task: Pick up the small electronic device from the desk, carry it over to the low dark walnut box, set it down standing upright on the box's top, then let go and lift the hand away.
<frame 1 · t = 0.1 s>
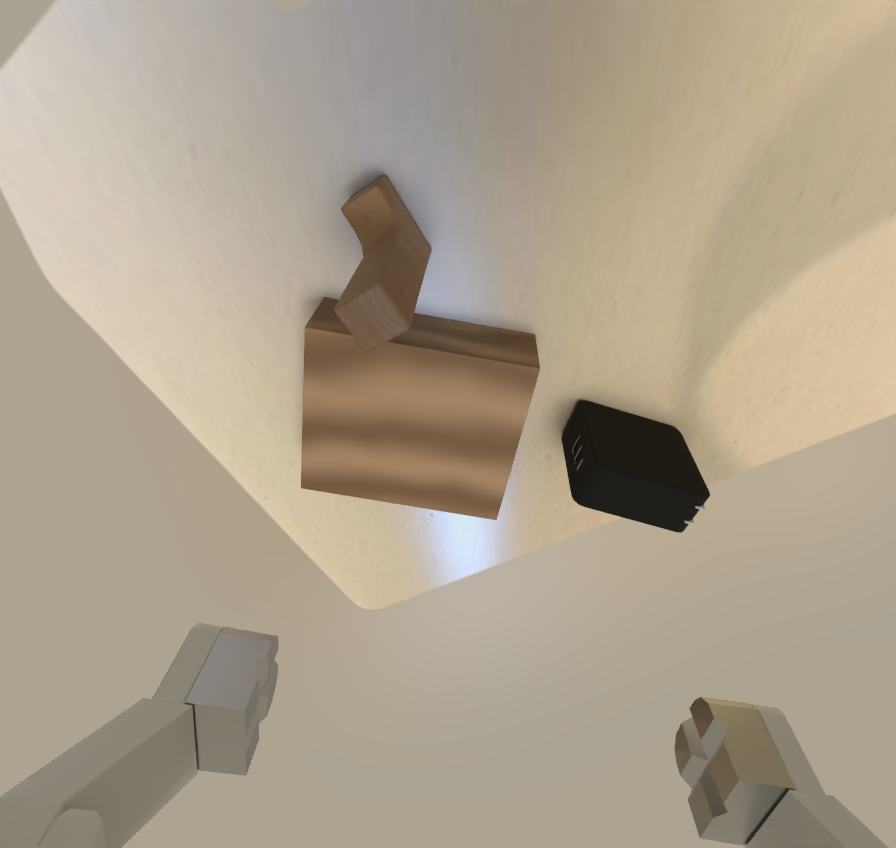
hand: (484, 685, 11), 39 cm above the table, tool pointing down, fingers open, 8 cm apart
electronic device: (618, 429, 54), on the table
wooden block: (392, 223, 45), on the table
walnut box: (417, 396, 53), on the table
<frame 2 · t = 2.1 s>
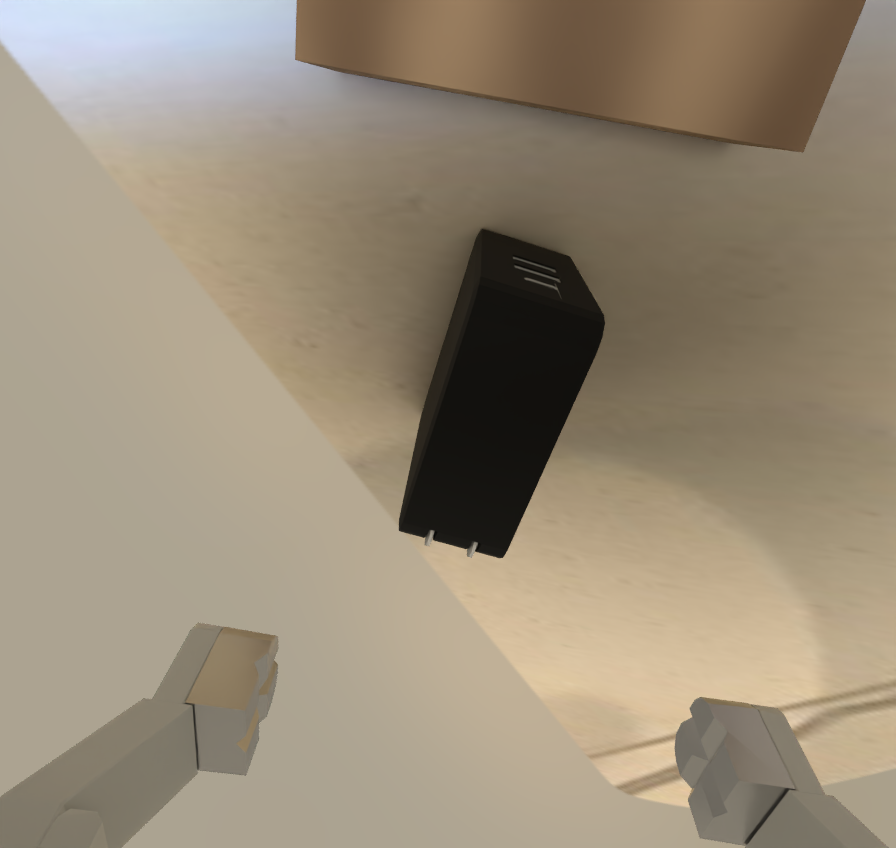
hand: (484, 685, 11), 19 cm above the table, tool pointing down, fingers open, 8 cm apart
electronic device: (489, 339, 28), on the table
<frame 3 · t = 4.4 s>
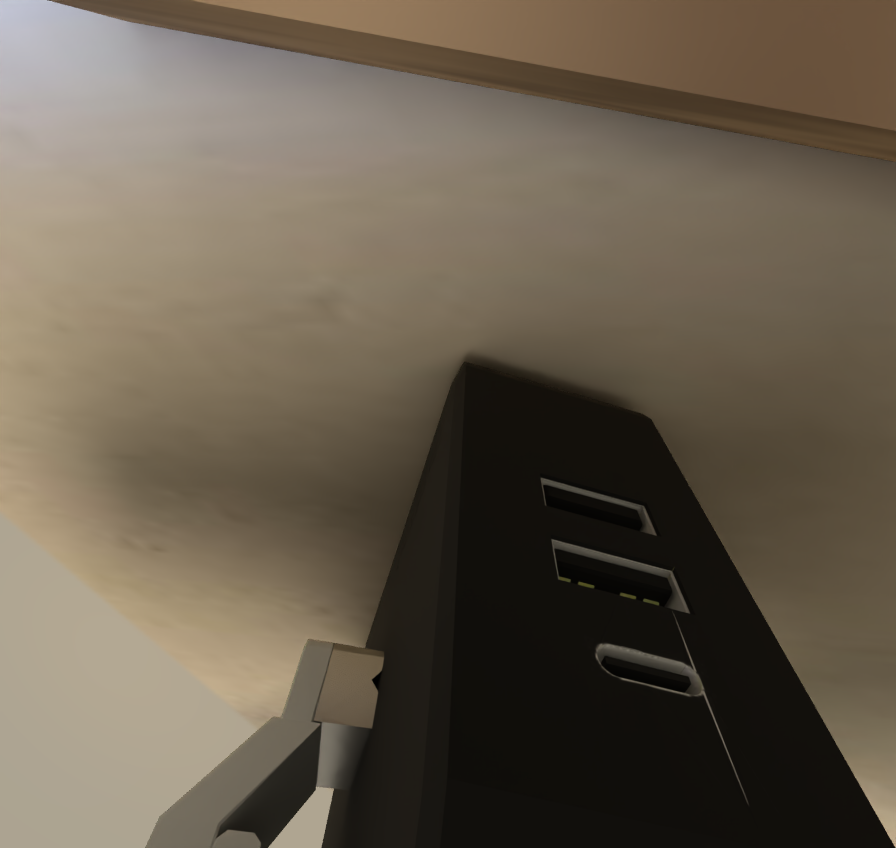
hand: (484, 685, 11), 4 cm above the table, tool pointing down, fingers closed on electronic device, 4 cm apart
electronic device: (482, 540, 15), on the table, touching gripper
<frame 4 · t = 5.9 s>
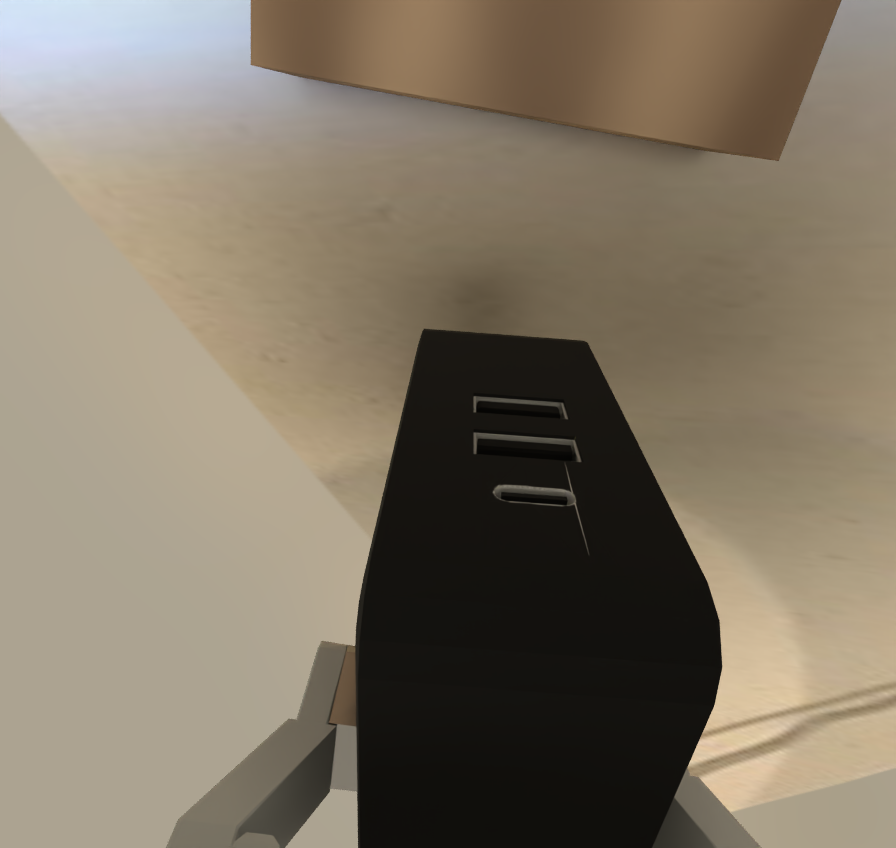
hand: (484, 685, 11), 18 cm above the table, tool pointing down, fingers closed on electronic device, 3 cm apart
electronic device: (484, 481, 17), point 11 cm above the table, touching gripper
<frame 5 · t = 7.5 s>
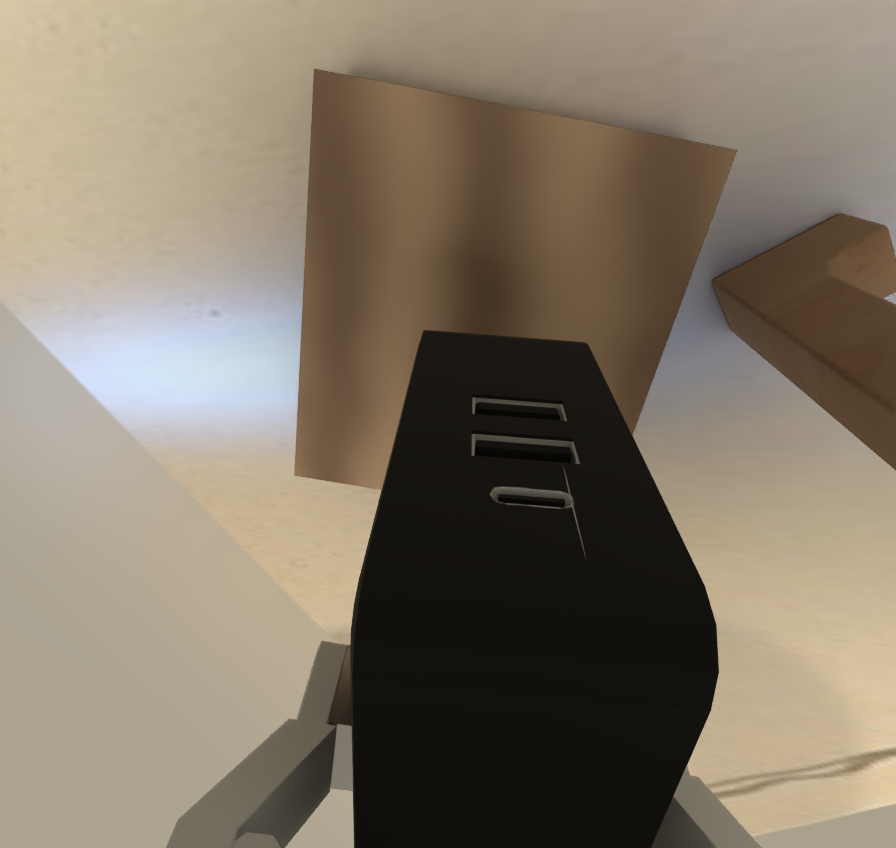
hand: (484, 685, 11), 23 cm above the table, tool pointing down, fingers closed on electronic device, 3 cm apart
electronic device: (485, 483, 17), point 16 cm above the table, touching gripper
wooden block: (781, 273, 30), on the table
walnut box: (481, 299, 31), on the table
when the fingers open (13 cm above the table, at t = 9.1 s): electronic device stays where it is, resting on walnut box.
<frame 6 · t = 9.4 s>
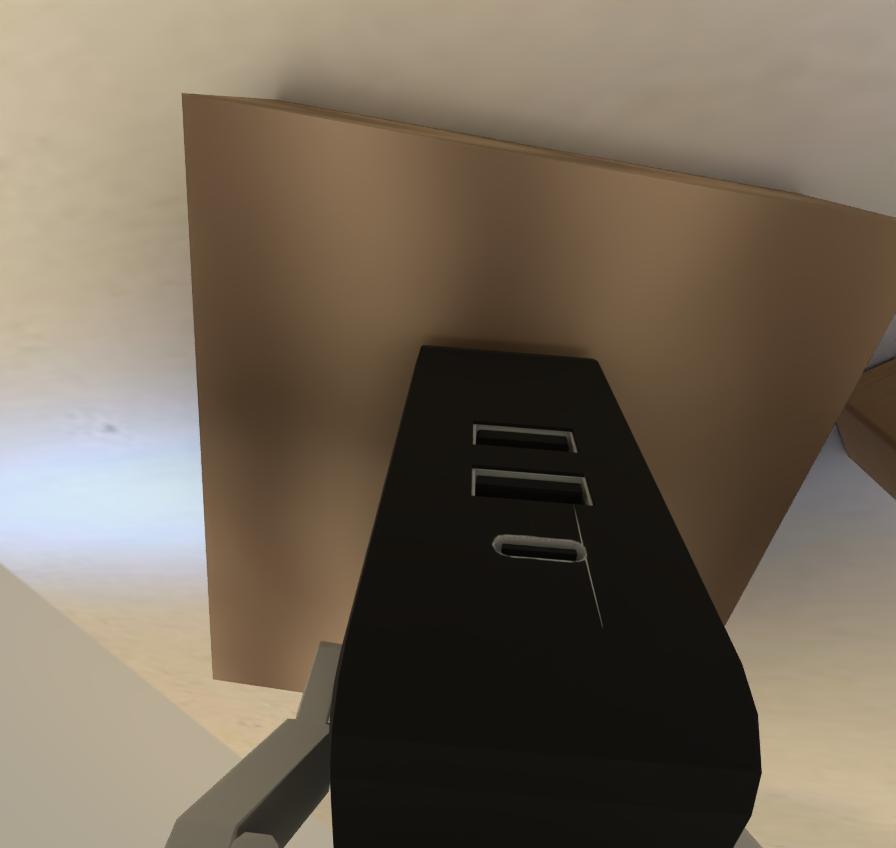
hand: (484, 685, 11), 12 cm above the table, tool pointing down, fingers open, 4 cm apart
electronic device: (487, 504, 16), point 6 cm above the table, touching walnut box
walnut box: (485, 412, 21), on the table
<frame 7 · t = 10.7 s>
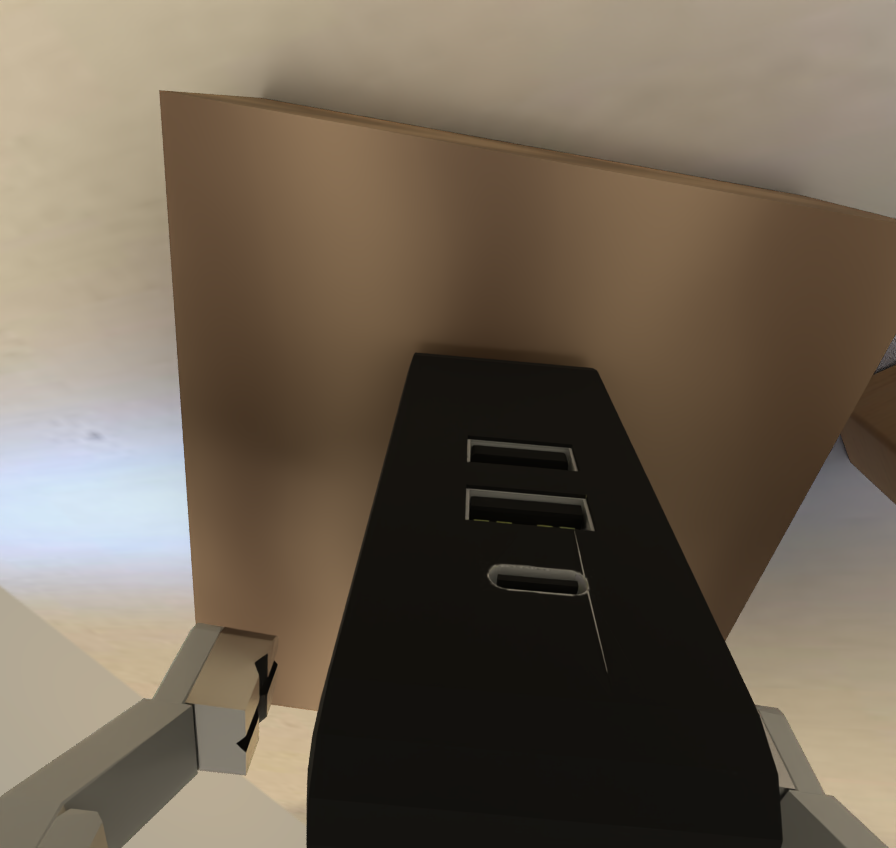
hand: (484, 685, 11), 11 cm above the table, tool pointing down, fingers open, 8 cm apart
electronic device: (481, 516, 16), point 6 cm above the table, touching walnut box
walnut box: (480, 419, 21), on the table
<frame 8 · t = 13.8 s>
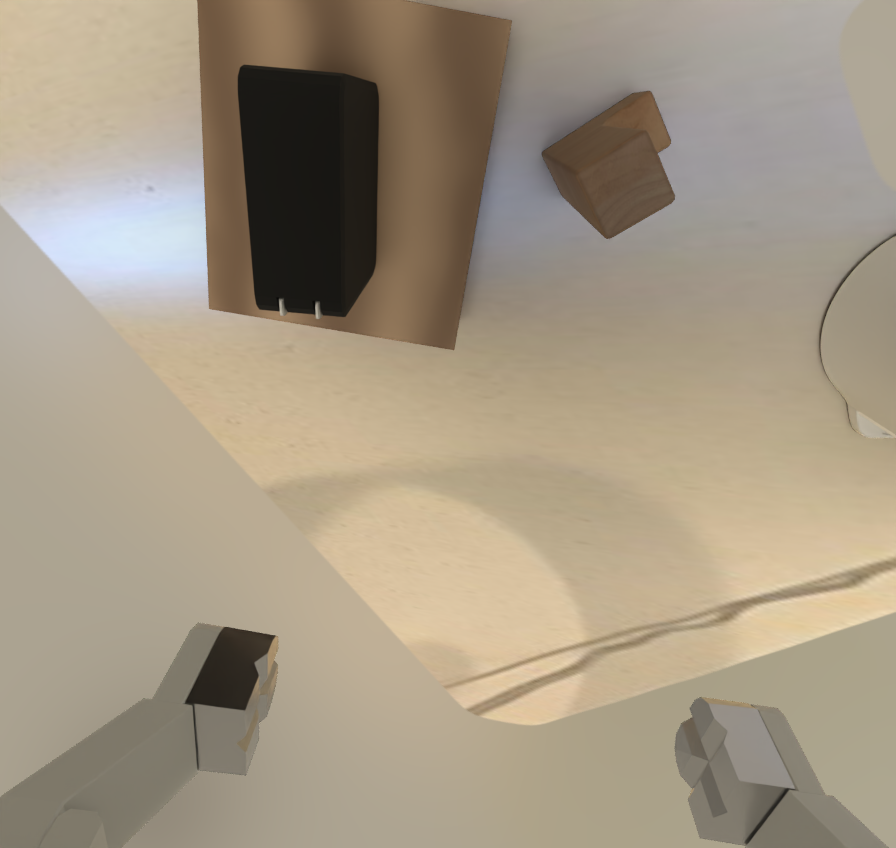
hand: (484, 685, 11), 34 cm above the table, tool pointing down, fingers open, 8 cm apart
electronic device: (343, 181, 33), point 6 cm above the table, touching walnut box
wooden block: (597, 147, 37), on the table
walnut box: (361, 172, 39), on the table
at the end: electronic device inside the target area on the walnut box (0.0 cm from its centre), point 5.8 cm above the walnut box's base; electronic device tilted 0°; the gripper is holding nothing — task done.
